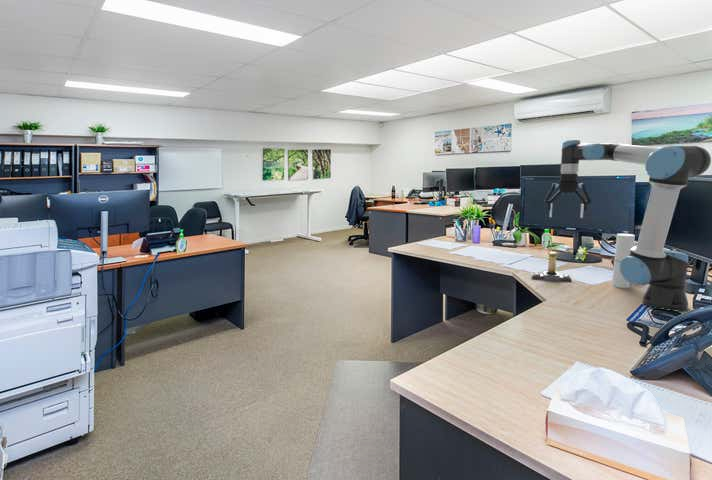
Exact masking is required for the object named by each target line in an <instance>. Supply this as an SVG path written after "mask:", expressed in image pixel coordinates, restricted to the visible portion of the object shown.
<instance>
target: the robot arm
mask: <svg viewBox="0 0 712 480" xmlns="http://www.w3.org/2000/svg"><path fill="white" fill-rule="evenodd" d="M711 157H712V156H711V154H710V153H709V151H708V150H706V149H705V148H703V147H702V146H697V145H667V146H662V147H656V146H647V145H646V146H645V145H633V144H624V143H623V144H622V143H618V142H611V143H610V142H607V143H603V142H590V143H589V142H588V143H587V142H586V143H581V141H580V139H570V140H569V139H568V140H564V141H563V142H562V147H561V157H560V158H561V159H560V160H561V161H560V174H559V182H558V183H555V182H554V183H552V185H551V189H550V190H549V191H548V193H547V195H546V196H545V198H544V200H543V201H544V203H546V204H547V210H548V211H549V218H553V217H552V216H553V204H554V203H552V202H554V200H556V199H557V198H558V197H559V196H560V195H561V194H562V193H564V194H567V193H569V194H572V193H574V194H575V195H576V197H577V198H578V199H579V200H580V201H581V202H582V203H581V204H580V219H583V218H584V212H586V211H587V205H588V204H590V203H592V200H591V198H590V196H589V194H588V191H587V189H586V185H585V183H583V182H581V183H578V178H579V177H578V176H579V174H578V173H579V164H580V161H614V162H623V163H628V164H629V163H630V164H637V165H642V166H643V165H644V168H645V171H646V173H647V175H648V176H649V178H648V182H649V183H650V185H651V189H650V193H649V198H648V202H647V204H646V205H647V206H646V208H645V212H644V215H643V220H642V223H641V227H640V231H639V236H638V240H637V242H636V245H634V247H632V248H631V251H630V255H629V256H627V257H625V258H624V259H623V260H622V261H621V263H620V272H621V274H622V275H623V277H624V279H625V280H626V281H627V282H629V283H630V285H634V286H646V285H649V286H648V288H647V289H646V290H645V292H644V293H643V297H642V304H644V305H646V306H647V305H648V307H650V306H651V307H650V308H653V307H656V308H655V309H657V308H664V309H670V310H678V311H677V312H685V311H687V310H688V309H689V302H688V301H689V300H688V297H687V294H686V293H687V292H686V283H687V282H686V281H687V276H688V275H687V274H688V266H689V255H688V254H687V253H685V252H681V251H676V250H675V251H674V250H669V249H665V248H664V247H665V244H666V240H667V236H668V234H669V230H670V227H671V223H672V219H673V216H674V212H675V209H676V206H677V203H678V199H679V195H680V191H681V190H682V189H683V188H685V187H687V185H688V182H689V179H690V178H691V179H692V178H695V177H699V176H701V175H703V174H704V173H705V172H706V171H707V170H708V169H709V168H710V166H711V164H712V158H711ZM578 187H579V188H580V190H581V192H582V193H583V195H584V197H583V196H582V195H581V194H580V193H579V191H578V190H577V188H578ZM557 188H559V190H558V191H557V192H556V193H555V194H554V195H553V196H552V194H553V193H554V191H555V189H557ZM551 196H552V197H551ZM584 198H585V199H584Z"/></svg>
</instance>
